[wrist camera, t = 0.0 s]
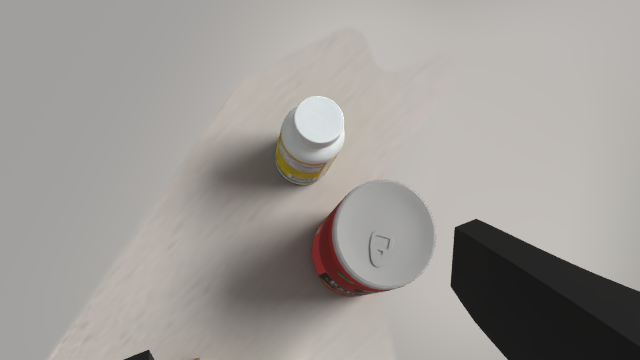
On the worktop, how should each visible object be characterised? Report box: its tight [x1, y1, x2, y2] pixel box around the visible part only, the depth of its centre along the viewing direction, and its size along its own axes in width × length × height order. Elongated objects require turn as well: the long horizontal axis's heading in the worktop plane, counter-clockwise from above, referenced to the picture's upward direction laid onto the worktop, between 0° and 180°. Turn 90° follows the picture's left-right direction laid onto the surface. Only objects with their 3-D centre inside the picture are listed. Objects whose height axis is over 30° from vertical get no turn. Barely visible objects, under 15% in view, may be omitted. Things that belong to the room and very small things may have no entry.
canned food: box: [312, 180, 436, 296], centre depth 39 cm, size 8×8×11 cm
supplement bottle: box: [275, 96, 344, 185], centre depth 41 cm, size 5×5×10 cm
